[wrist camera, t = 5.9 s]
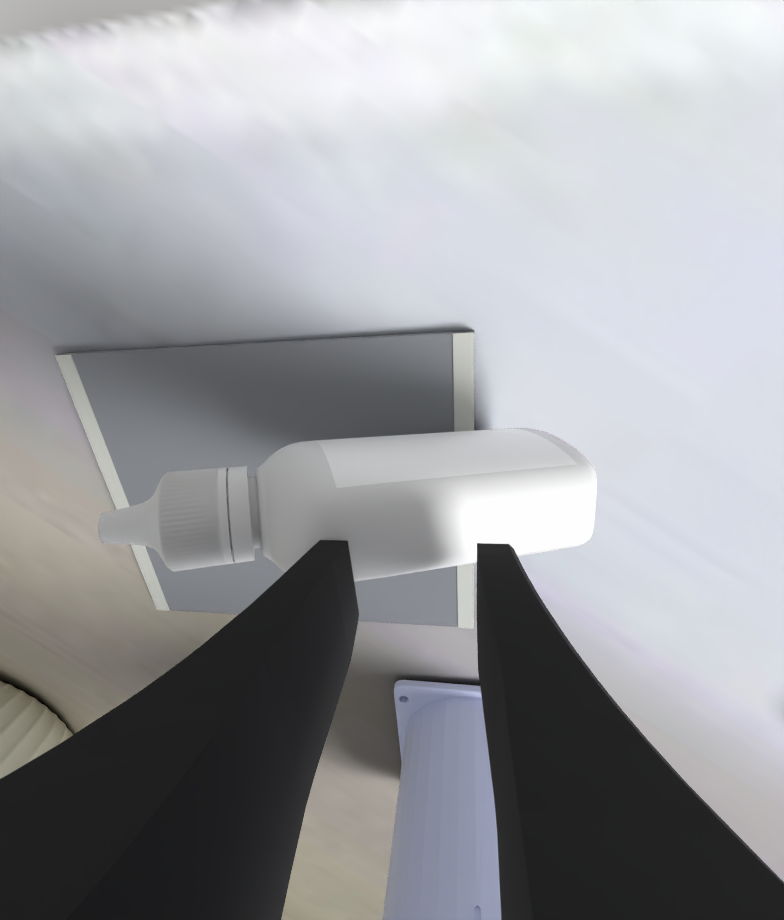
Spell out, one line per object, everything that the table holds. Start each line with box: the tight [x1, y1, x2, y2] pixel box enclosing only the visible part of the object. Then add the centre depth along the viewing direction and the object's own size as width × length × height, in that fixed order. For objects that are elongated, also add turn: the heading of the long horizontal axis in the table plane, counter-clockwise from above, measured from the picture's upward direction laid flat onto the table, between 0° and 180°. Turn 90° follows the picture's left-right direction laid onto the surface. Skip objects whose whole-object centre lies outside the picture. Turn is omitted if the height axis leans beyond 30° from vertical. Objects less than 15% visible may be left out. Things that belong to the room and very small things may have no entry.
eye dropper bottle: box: [98, 428, 597, 582], centre depth 12 cm, size 4×6×12 cm
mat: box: [55, 330, 474, 629], centre depth 18 cm, size 13×16×1 cm
